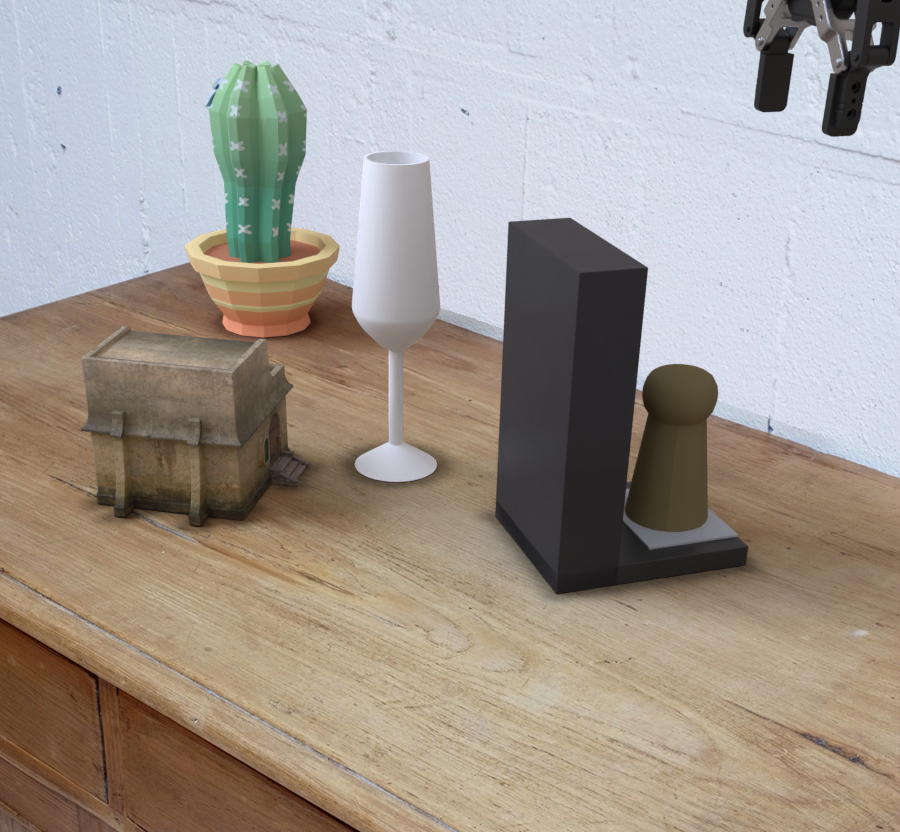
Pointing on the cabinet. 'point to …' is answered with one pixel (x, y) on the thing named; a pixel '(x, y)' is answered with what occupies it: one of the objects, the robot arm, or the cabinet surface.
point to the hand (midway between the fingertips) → (802, 122)
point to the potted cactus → (260, 207)
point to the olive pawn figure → (673, 450)
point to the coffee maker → (580, 416)
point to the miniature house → (187, 424)
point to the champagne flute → (396, 288)
